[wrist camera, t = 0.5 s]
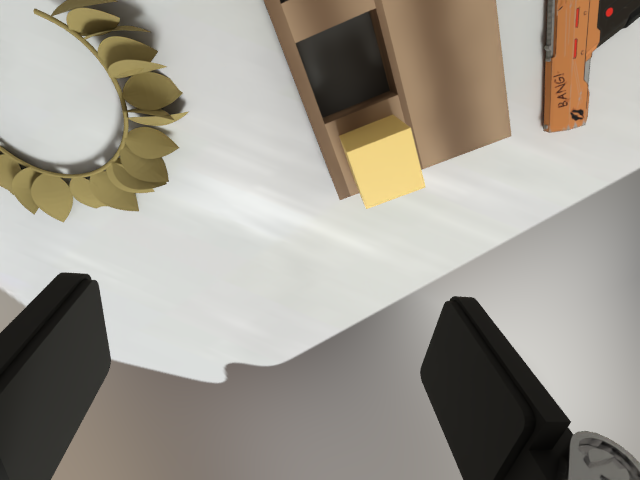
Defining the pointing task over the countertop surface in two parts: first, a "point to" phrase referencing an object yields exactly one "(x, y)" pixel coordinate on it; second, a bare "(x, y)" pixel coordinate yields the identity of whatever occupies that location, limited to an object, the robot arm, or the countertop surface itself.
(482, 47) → the wooden tray
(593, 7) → the toy gun
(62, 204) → the headpiece
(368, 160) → the block
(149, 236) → the countertop surface
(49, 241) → the countertop surface
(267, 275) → the countertop surface
